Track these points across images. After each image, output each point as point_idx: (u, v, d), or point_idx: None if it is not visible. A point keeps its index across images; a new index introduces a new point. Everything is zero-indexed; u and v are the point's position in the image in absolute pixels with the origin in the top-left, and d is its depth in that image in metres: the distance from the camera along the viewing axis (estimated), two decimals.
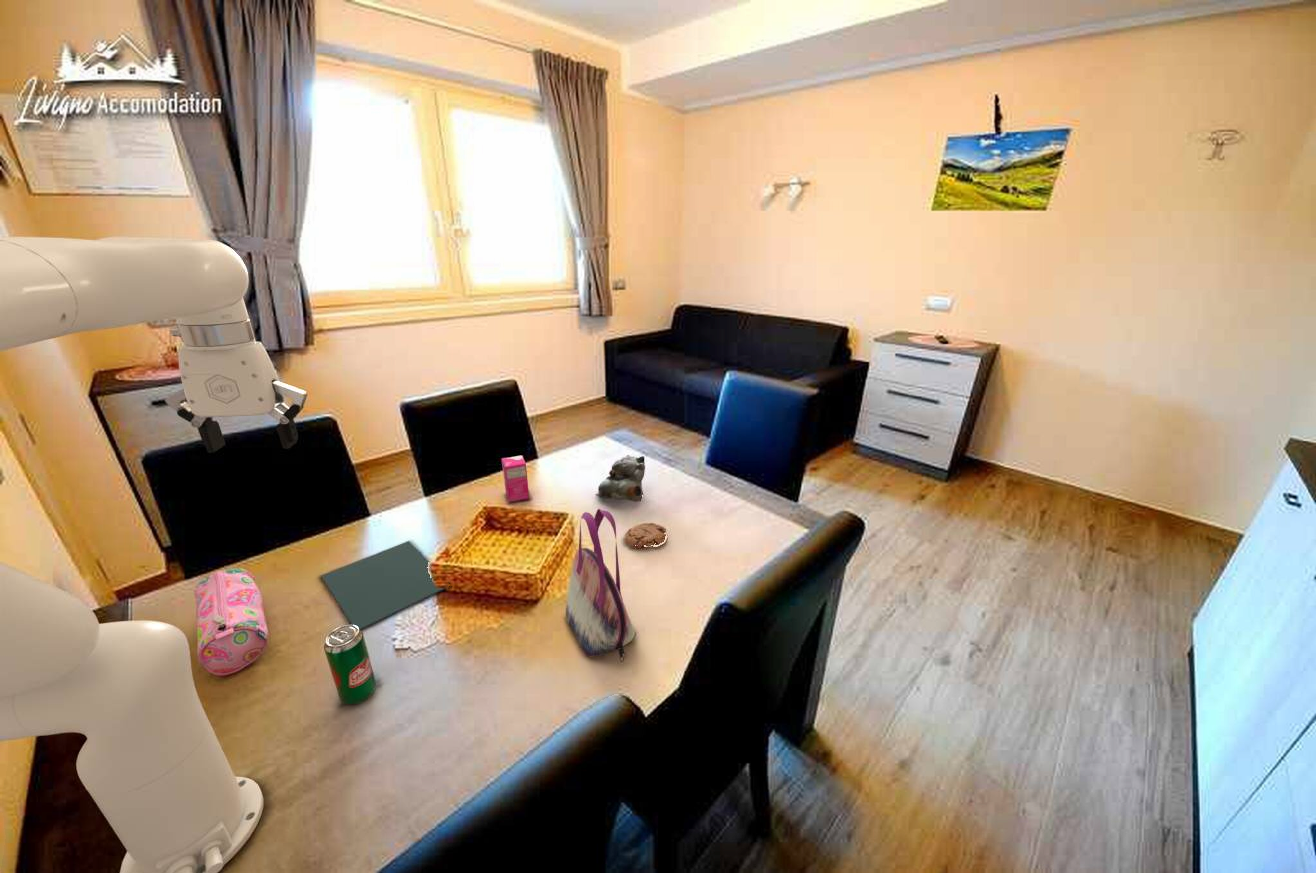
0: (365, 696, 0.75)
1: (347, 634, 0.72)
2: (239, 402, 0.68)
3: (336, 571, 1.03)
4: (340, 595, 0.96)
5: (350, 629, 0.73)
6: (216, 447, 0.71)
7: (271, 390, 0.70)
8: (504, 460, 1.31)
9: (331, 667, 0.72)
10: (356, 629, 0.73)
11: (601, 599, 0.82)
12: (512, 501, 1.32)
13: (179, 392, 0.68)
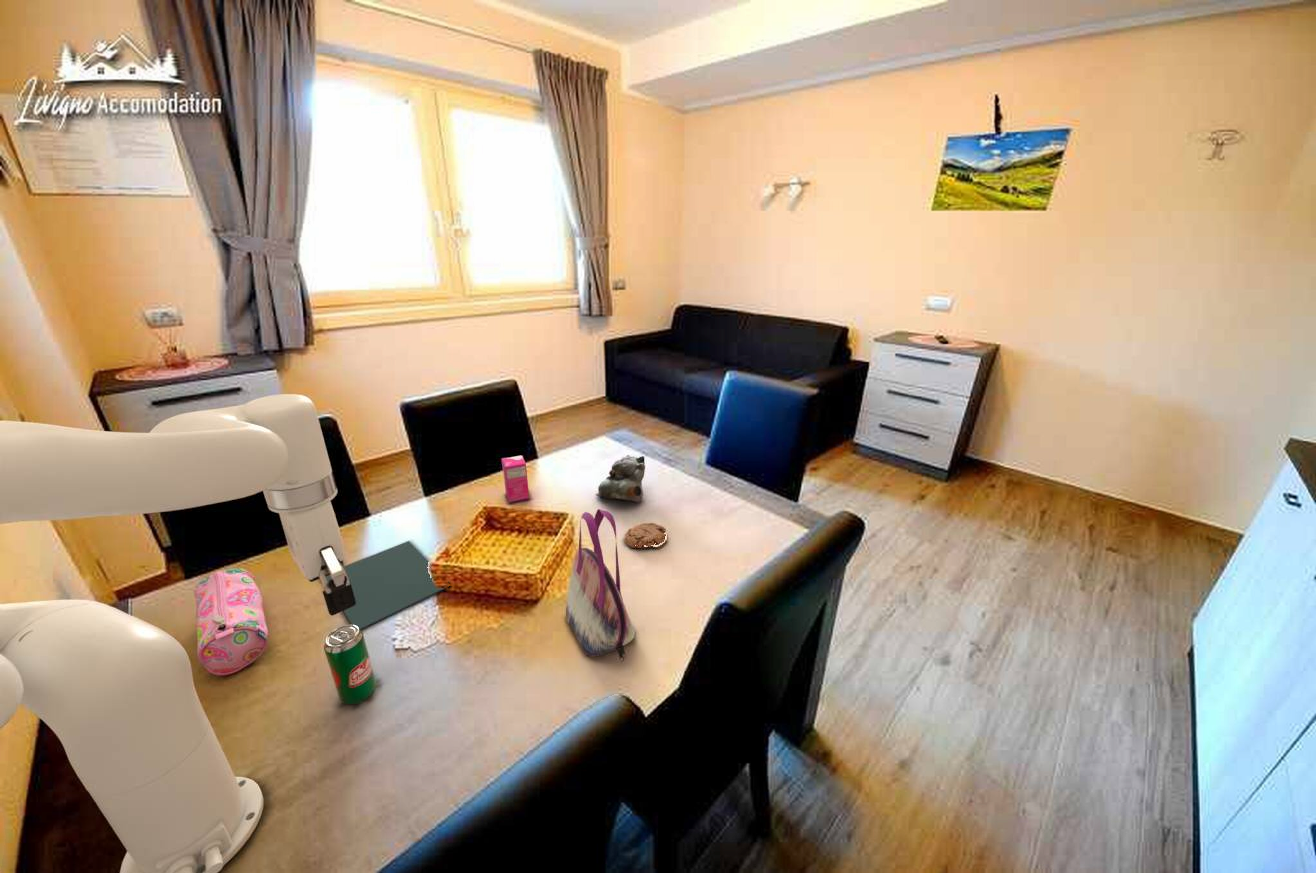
0: (365, 696, 0.75)
1: (347, 634, 0.72)
2: (297, 560, 0.63)
3: None
4: None
5: (350, 629, 0.73)
6: (316, 577, 0.72)
7: (315, 559, 0.62)
8: (504, 460, 1.31)
9: (331, 667, 0.72)
10: (356, 629, 0.73)
11: (601, 599, 0.82)
12: (512, 501, 1.32)
13: None
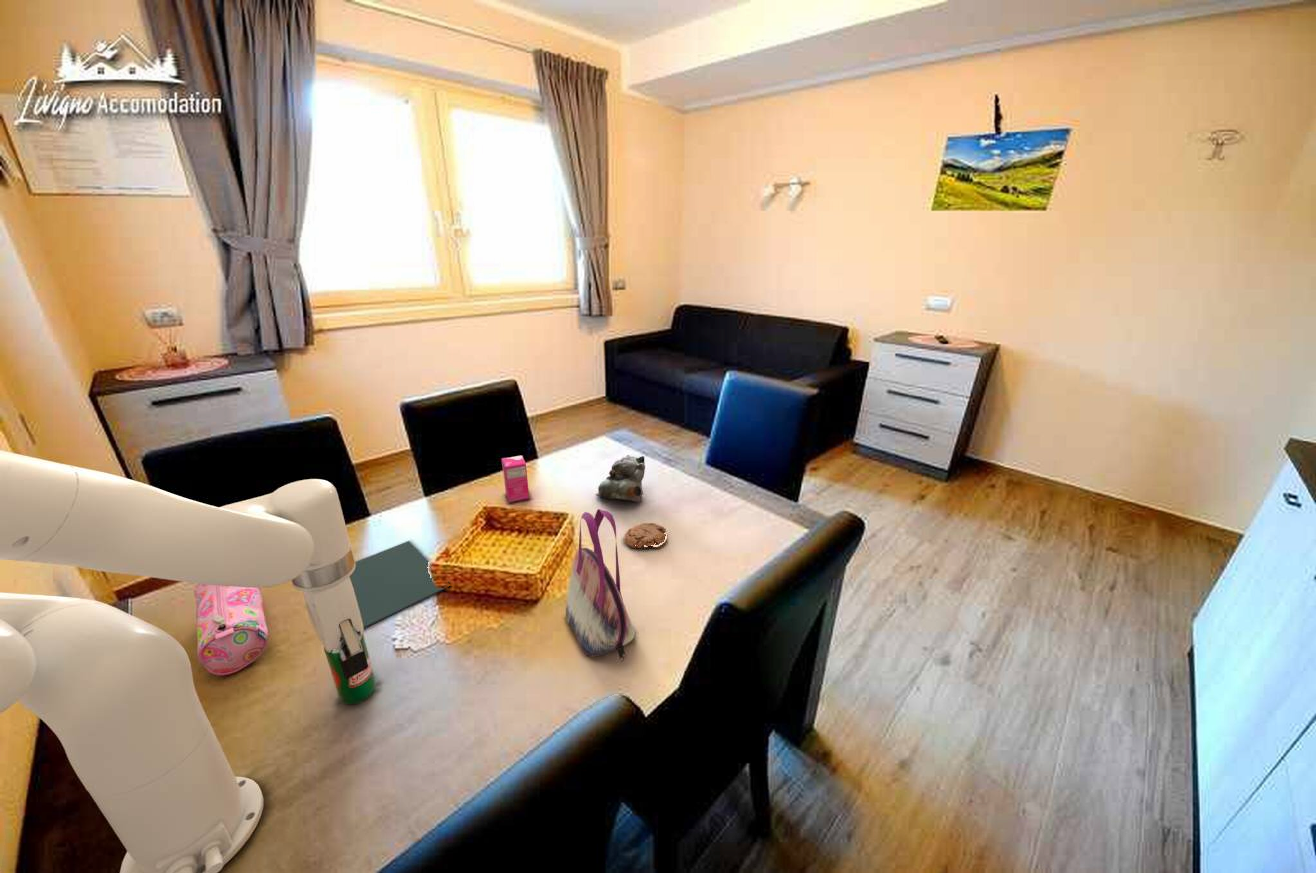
0: (365, 696, 0.75)
1: None
2: (317, 631, 0.68)
3: None
4: None
5: None
6: None
7: (335, 632, 0.66)
8: (504, 460, 1.31)
9: (331, 667, 0.72)
10: None
11: (601, 599, 0.82)
12: (512, 501, 1.32)
13: None
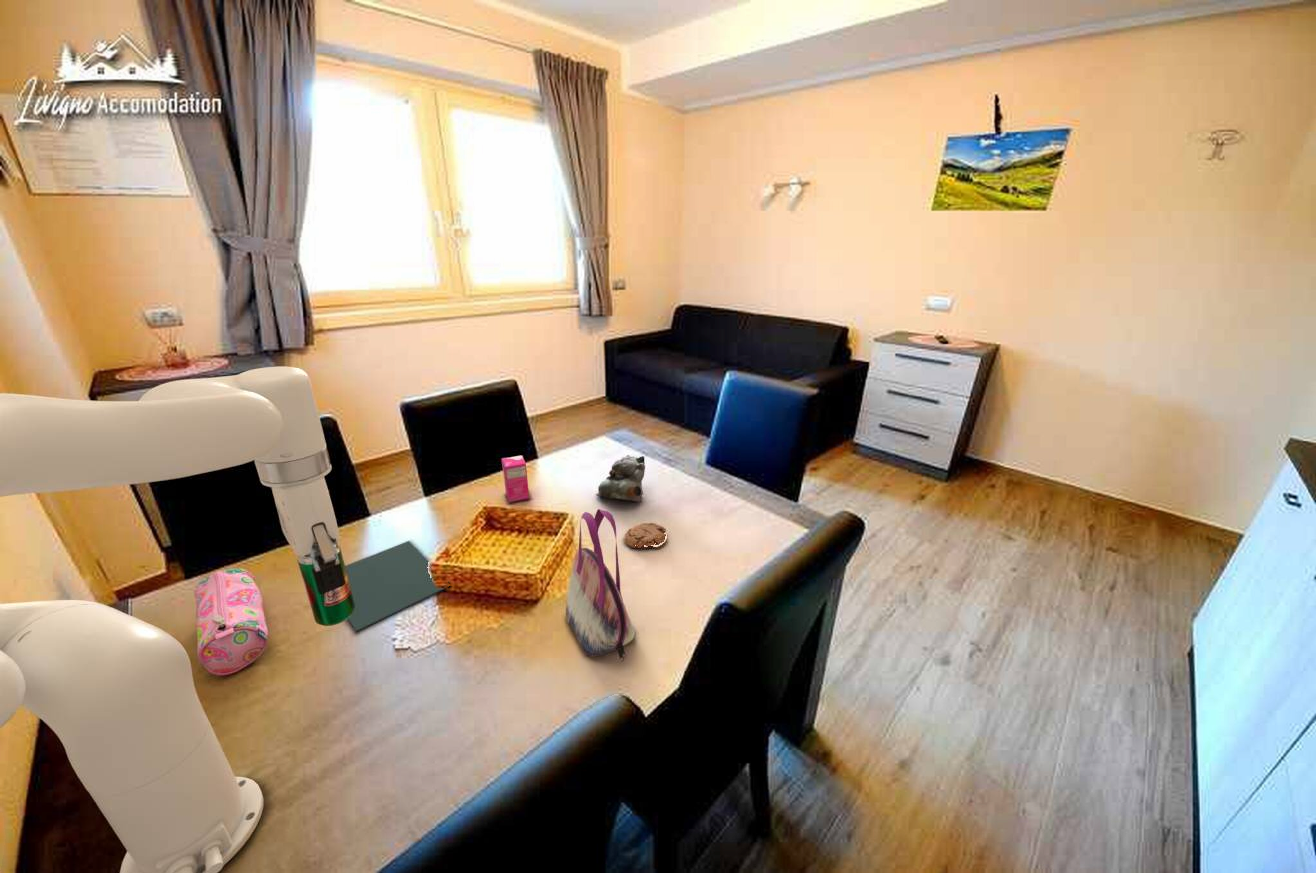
0: (342, 618, 0.69)
1: None
2: (288, 537, 0.62)
3: None
4: None
5: None
6: None
7: (307, 535, 0.61)
8: (504, 460, 1.31)
9: (305, 582, 0.66)
10: None
11: (601, 599, 0.82)
12: (512, 501, 1.32)
13: None
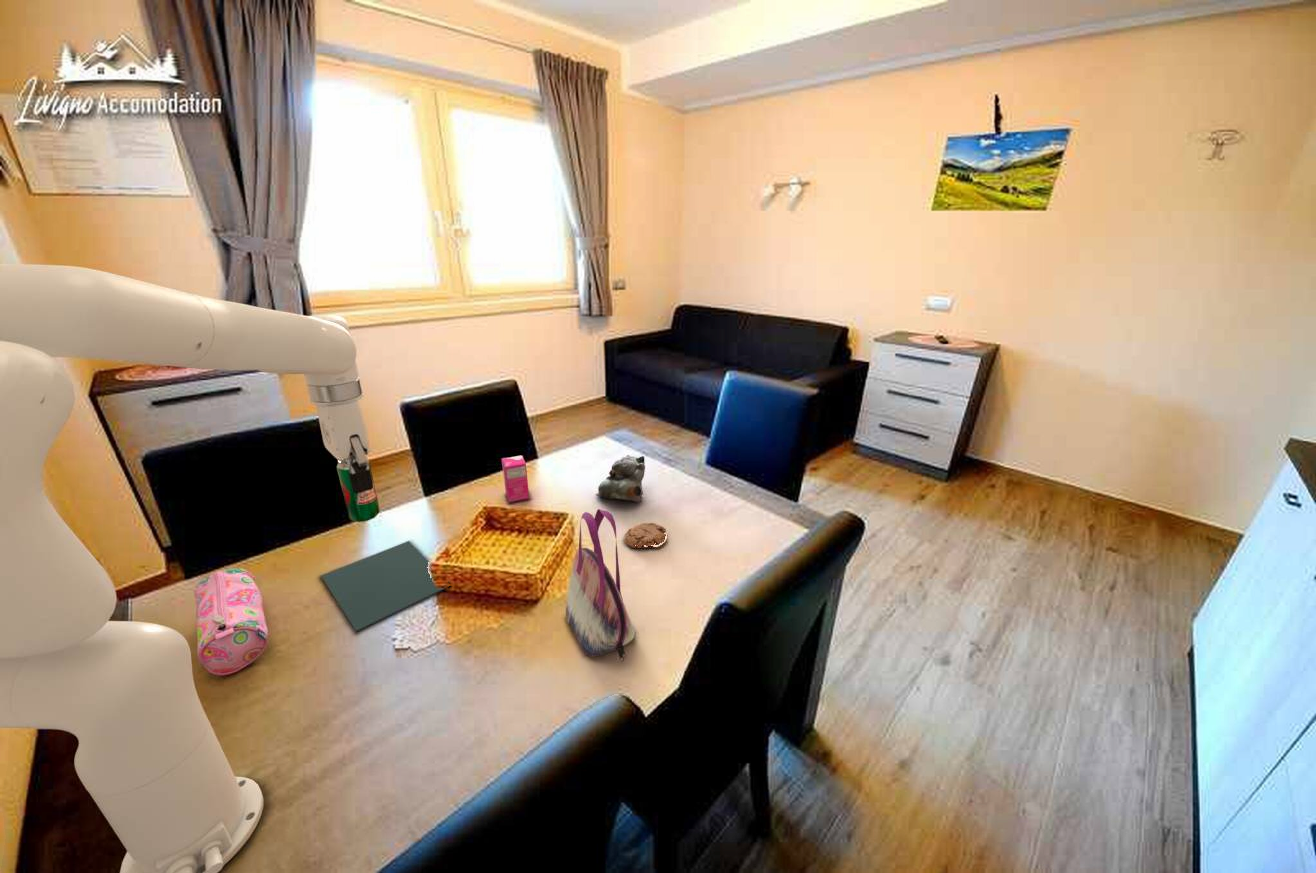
0: (370, 516, 0.89)
1: None
2: (331, 446, 0.82)
3: (336, 571, 1.03)
4: (340, 595, 0.96)
5: None
6: None
7: (346, 443, 0.80)
8: (504, 460, 1.31)
9: (342, 484, 0.86)
10: None
11: (601, 599, 0.82)
12: (512, 501, 1.32)
13: None
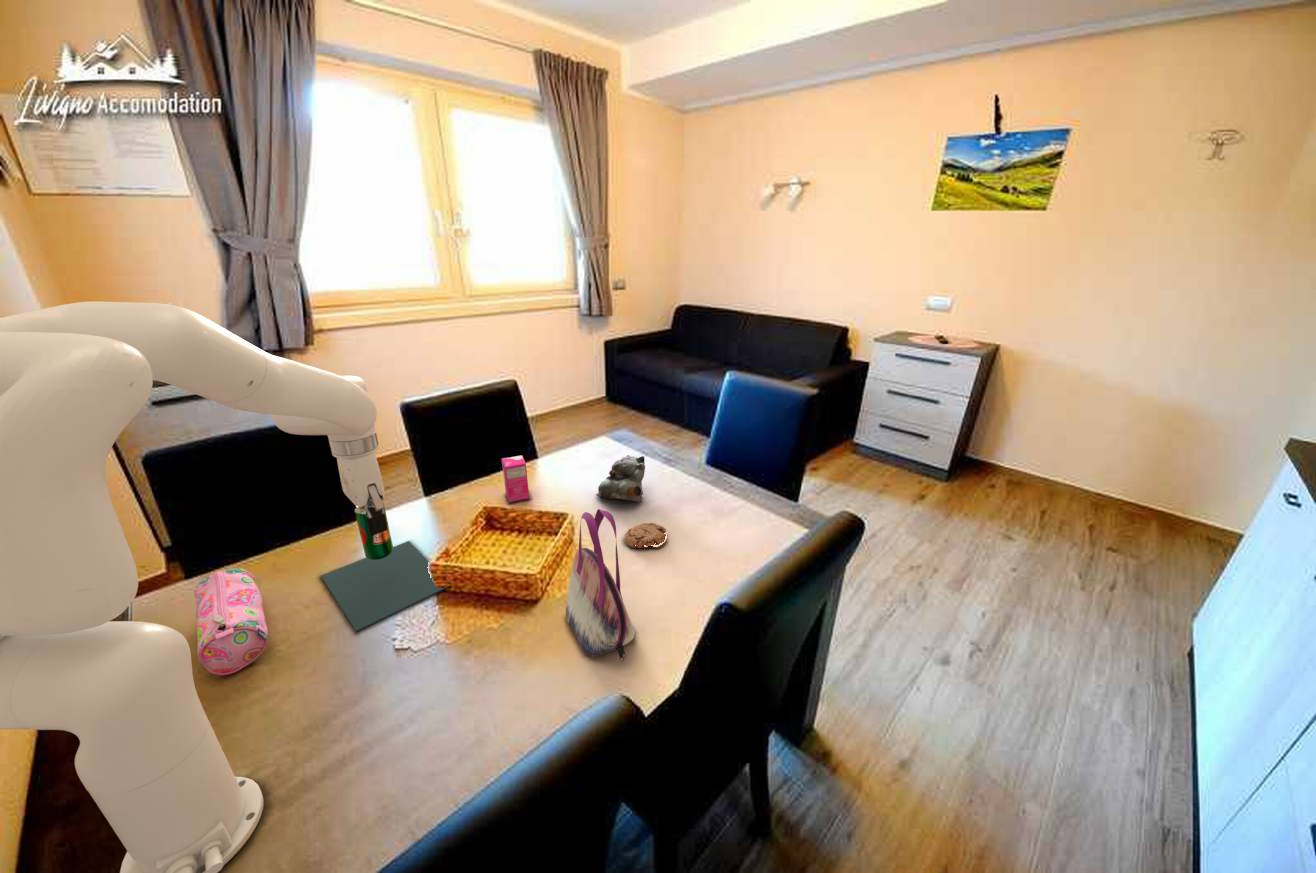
0: (385, 554, 0.97)
1: None
2: (350, 494, 0.90)
3: (336, 571, 1.03)
4: (340, 595, 0.96)
5: None
6: None
7: (364, 492, 0.88)
8: (504, 460, 1.31)
9: (360, 527, 0.93)
10: None
11: (601, 599, 0.82)
12: (512, 501, 1.32)
13: None
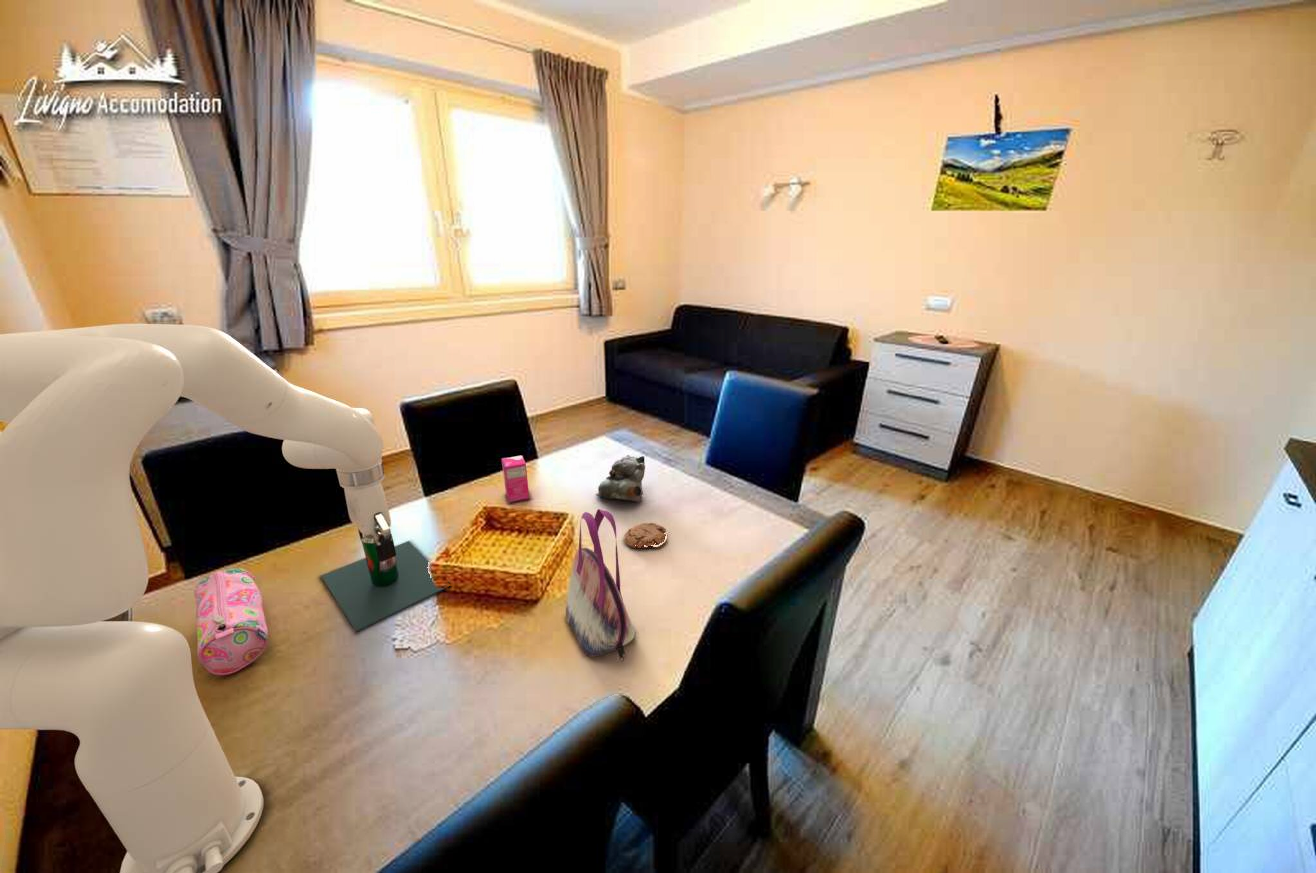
0: (391, 581, 0.99)
1: None
2: (357, 522, 0.92)
3: (336, 571, 1.03)
4: (340, 595, 0.96)
5: None
6: None
7: (371, 521, 0.90)
8: (504, 460, 1.31)
9: (366, 555, 0.96)
10: None
11: (601, 599, 0.82)
12: (512, 501, 1.32)
13: None
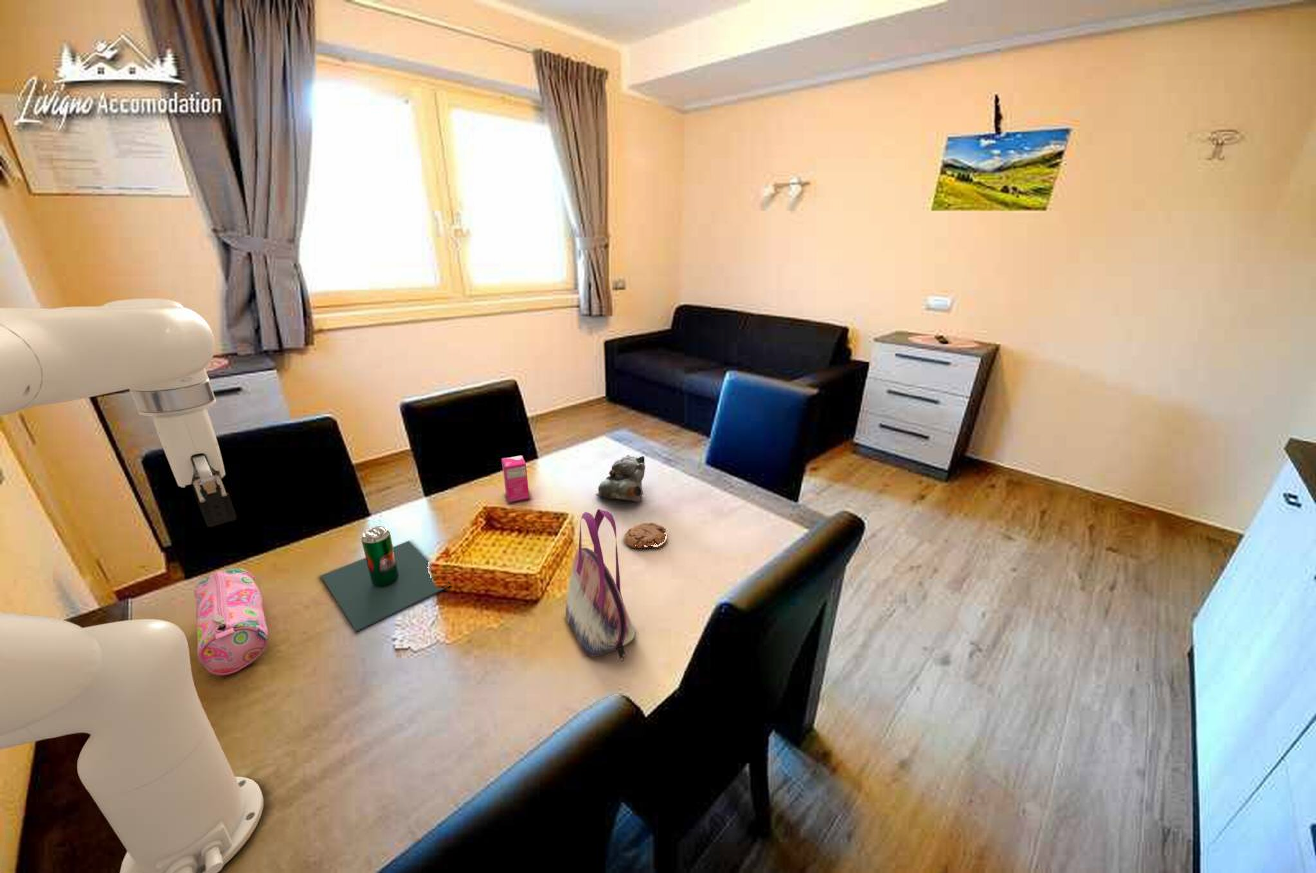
0: (391, 581, 0.99)
1: (378, 531, 0.97)
2: (171, 468, 0.64)
3: (336, 571, 1.03)
4: (340, 595, 0.96)
5: (380, 528, 0.97)
6: (204, 496, 0.72)
7: (187, 465, 0.62)
8: (504, 460, 1.31)
9: (366, 555, 0.96)
10: (385, 529, 0.98)
11: (601, 599, 0.82)
12: (512, 501, 1.32)
13: None
